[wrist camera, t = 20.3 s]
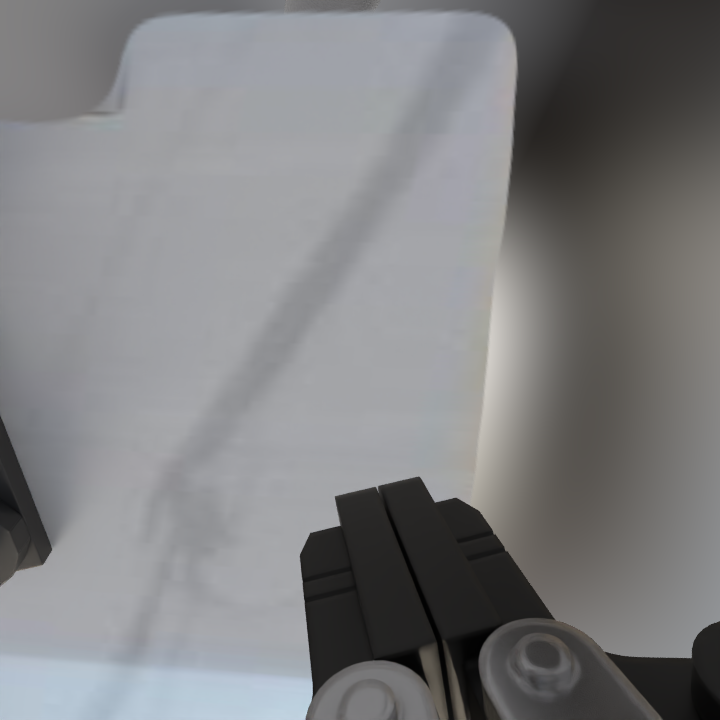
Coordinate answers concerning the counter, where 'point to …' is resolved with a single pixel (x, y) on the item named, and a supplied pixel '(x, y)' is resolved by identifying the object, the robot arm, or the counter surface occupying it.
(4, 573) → the scale
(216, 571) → the counter surface
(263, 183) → the counter surface
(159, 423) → the counter surface
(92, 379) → the counter surface
